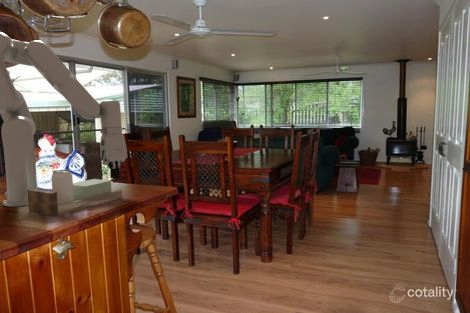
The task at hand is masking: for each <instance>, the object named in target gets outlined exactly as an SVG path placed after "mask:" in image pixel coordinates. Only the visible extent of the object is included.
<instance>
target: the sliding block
mask: <svg viewBox="0 0 470 313" xmlns="http://www.w3.org/2000/svg"><path fill="white" fill-rule="evenodd" d="M109 192H112V180H106V179H103V180H99V179H91V180H86V179H85V180H82V181H78V182H73V196H74V201H77V200H81V199H85V198H89V197H93V196H97V195H101V194H105V193H109Z"/></svg>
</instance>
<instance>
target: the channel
mask: <svg viewBox="0 0 470 313" xmlns="http://www.w3.org/2000/svg"><path fill="white" fill-rule="evenodd" d="M27 191H28V205H27V206H28V212H29V213H32V214H37V215H42V216H46V217H51V218H53V217H58V216H61V215H64V214H68V213H72V212H75V211H79V210H82V209H85V208H89V206H90V207H93V205H94V206H98V205H100V203H101V204H104V202H105V203H107V202H112V201H115V200H119V199H123V189H117V190H114V191H113V190H112V191H111V192H109V193H105V194H101V195H97V196H93V197H89V198H85V199H81V200H77V201H73V202H69V203H65V204H61V205H58V203H57V192H52V190H43V189H38V188H37V189H29V190H27Z"/></svg>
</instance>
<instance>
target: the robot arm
mask: <svg viewBox="0 0 470 313" xmlns="http://www.w3.org/2000/svg"><path fill="white" fill-rule="evenodd" d="M5 62H7V63H11V64H17V65H18V64H19V65H21V66H22V65H24V66H28V67H29V66H30V67H34V68H35V69H36V71H37V72H38V73H40V75H41V76H42V77H43V78H44V79H45V80H46V81H47V82H48V84H50V86H51V87H52V88H53V89H54V91H57V92H58V93H59V94H60V95H61V96H62V97H63V98H65V100H66V101H67V102H68V103H69V104H70V105H71V106H72V107H73V108H74V110H76V112H77V113H78V114H79V115H80V117H82V118H83V119H86V120H89V121H92V120H95V119H100V125H101V126H100V127H101V129H100V132H99V133H100V134H101V135H100V155H101V160H102V166H107V167H108V169H110V170H109V171H110V179H116V180H117V179H120V168H121V165H122V163H124V162H125V161H126V159H127V158H128V149H127V144H126V143H127V142H126V139H125V138H126V137H125V135H124V134H123V128H122V127H123V126H122V114H121V113H122V111H121V103H120V101H119V100H117V99H103V100H96V99H95V98H94V96H92V95H91V94H90V92H88V90H87V89H86V88H85V87H84V86H83V84H82V83H81V82H80V81H79V80H78V79H77V77H76V76H75V75H74V73H73V72H72V71H71V70H70V69H69V68H68V67H67V66H66V65H65V63H64V62H62V60H61V59H60V58H59V57H58V56H57V54H56V53H55V52H54V50H52V49H51V48H50V47H49V46H48V45H47V44H46V43H45V42H43V41H42V40H31V41H29V42H27V41H20V40H16V39H12V38H11V37H10V36H8V34H5V33H4V32H1V31H0V116H1V119H2V121H3V123H2V126H1V130H0V131H1V132H0V133H1V140H2V141H1V142H2V147H3V155H4V157H3V158H4V164H5V177H6V178H5V180H6V181H5V182H6V191H4V195H5V196H6V198H7V199H5V200H3V201H2V205H3V206H5V207H15V208H17V207H26V206H29V205H28V191H27V190H29V189H38V179H37V164H36V162H37V161H36V152H35V151H36V150H35V141H34V135H35V133H36V131H37V130H36V128H37V127H36V123H35V121H34V118H33V116H32V113H31V111H30V110H29V109H30V108H29V107H28V105H27V102H26V99H25V98H24V96H23V94H22V93H21V92H20V91H19V90H18V89H16V87H15V85H14V82H13V80H12V79H11V76H10V73H9V71H8V68H7V66H6V64H5Z"/></svg>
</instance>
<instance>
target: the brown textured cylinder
mask: <svg viewBox="0 0 470 313" xmlns="http://www.w3.org/2000/svg"><path fill="white" fill-rule="evenodd" d="M100 142H101V141H100ZM100 142H99V141H91V140H87V141H86V140H84V142H83V146H84V147H83V150H84V168H85V169H86V172H87V179H86V178H85V181H86V180H91V179H99V180H104V178H103V177H104V175H103V164H102V163H103V161H102V160H101V155H100Z"/></svg>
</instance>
